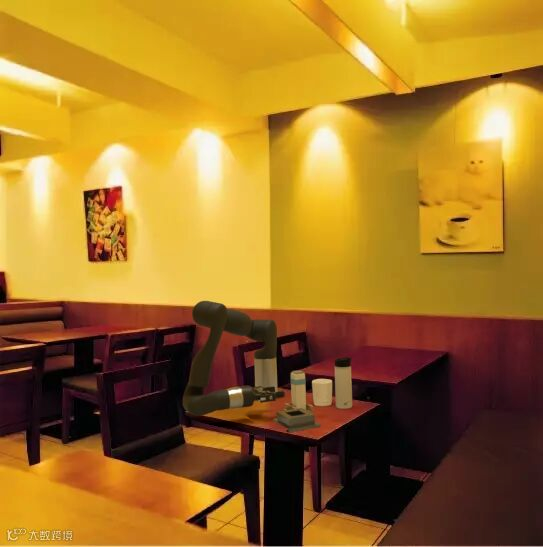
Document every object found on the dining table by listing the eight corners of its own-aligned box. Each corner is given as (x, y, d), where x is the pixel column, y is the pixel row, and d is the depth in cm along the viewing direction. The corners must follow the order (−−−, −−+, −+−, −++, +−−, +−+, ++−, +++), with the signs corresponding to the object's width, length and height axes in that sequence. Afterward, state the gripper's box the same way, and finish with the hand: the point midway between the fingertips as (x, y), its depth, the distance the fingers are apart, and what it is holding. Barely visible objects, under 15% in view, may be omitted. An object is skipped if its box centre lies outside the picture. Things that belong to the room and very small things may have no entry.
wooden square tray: (283, 411, 213) (283, 403, 212) (304, 408, 216) (303, 400, 216) (293, 417, 204) (293, 409, 204) (315, 413, 208) (314, 405, 208)
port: (271, 422, 199) (271, 411, 199) (301, 417, 204) (301, 406, 204) (289, 432, 186) (288, 420, 186) (320, 427, 191) (320, 415, 191)
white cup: (332, 403, 222) (332, 378, 221) (333, 409, 214) (332, 383, 213) (313, 403, 222) (312, 379, 222) (312, 409, 214) (311, 383, 214)
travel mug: (349, 412, 208) (347, 359, 208) (333, 410, 212) (331, 358, 211) (355, 408, 214) (354, 356, 213) (339, 406, 217) (338, 355, 217)
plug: (291, 409, 211) (290, 371, 211) (301, 407, 213) (300, 370, 213) (296, 412, 208) (295, 373, 207) (306, 410, 209) (305, 371, 209)
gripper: (245, 391, 194) (287, 385, 200) (231, 383, 207) (271, 378, 213) (246, 412, 194) (288, 405, 201) (232, 403, 207) (271, 397, 214)
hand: (279, 391), depth 207 cm, fingers open, 8 cm apart
